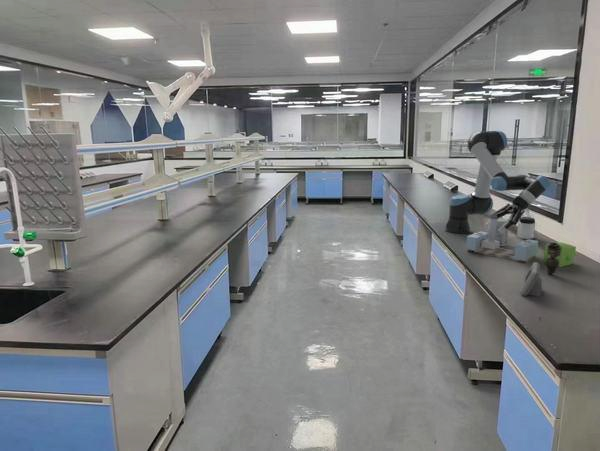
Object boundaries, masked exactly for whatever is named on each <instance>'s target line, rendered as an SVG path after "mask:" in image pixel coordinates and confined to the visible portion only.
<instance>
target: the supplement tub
mask: <svg viewBox="0 0 600 451" xmlns="http://www.w3.org/2000/svg"><path fill="white" fill-rule="evenodd" d="M508 220H509V219H507V218H502V217H500V218H498V220H497V221H496V231H495V240H496V241H500V245H499V247H505V246H507V244H508V235H509V234H508V233H509V228H508V229H507V230H505V231H504V232H503V233H502V234H501V233H500V232H499V231H498V229H499V228H501V227H502V226H503V225H504V224H505V223H506V222H507V221H508ZM508 222H509V221H508Z"/></svg>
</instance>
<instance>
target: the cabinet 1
mask: <svg viewBox="0 0 600 451" xmlns="http://www.w3.org/2000/svg"><path fill="white" fill-rule="evenodd" d="M487 237H488V231H476V232H473V233H472V234H469V235H467V236H466V244H465V249H467V250H468V249H470V250H477V249H479V248H480V247H481V240H482V239H484V240H485V239H487Z"/></svg>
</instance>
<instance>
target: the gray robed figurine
mask: <svg viewBox="0 0 600 451" xmlns="http://www.w3.org/2000/svg"><path fill="white" fill-rule="evenodd" d="M540 274H541V264H540V263H539V262H532V265H531V266H530V268H529V270H528V272H527V273H526V275H525V277H524V278H523V280H522V282H521V287H520V294H521V295H522V296H528V295H531V296H536V297H541V295H542V289H543V288H542V285H543V279H542V278H541V276H540Z"/></svg>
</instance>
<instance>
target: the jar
mask: <svg viewBox="0 0 600 451" xmlns="http://www.w3.org/2000/svg"><path fill="white" fill-rule="evenodd" d="M535 227H536V219H535V217H530V216H521V217H520V219H519V221H518V223H517V233H516V237H517V238H519V239H525V240H528V239H530V240H533V239H534V236H535Z"/></svg>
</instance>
